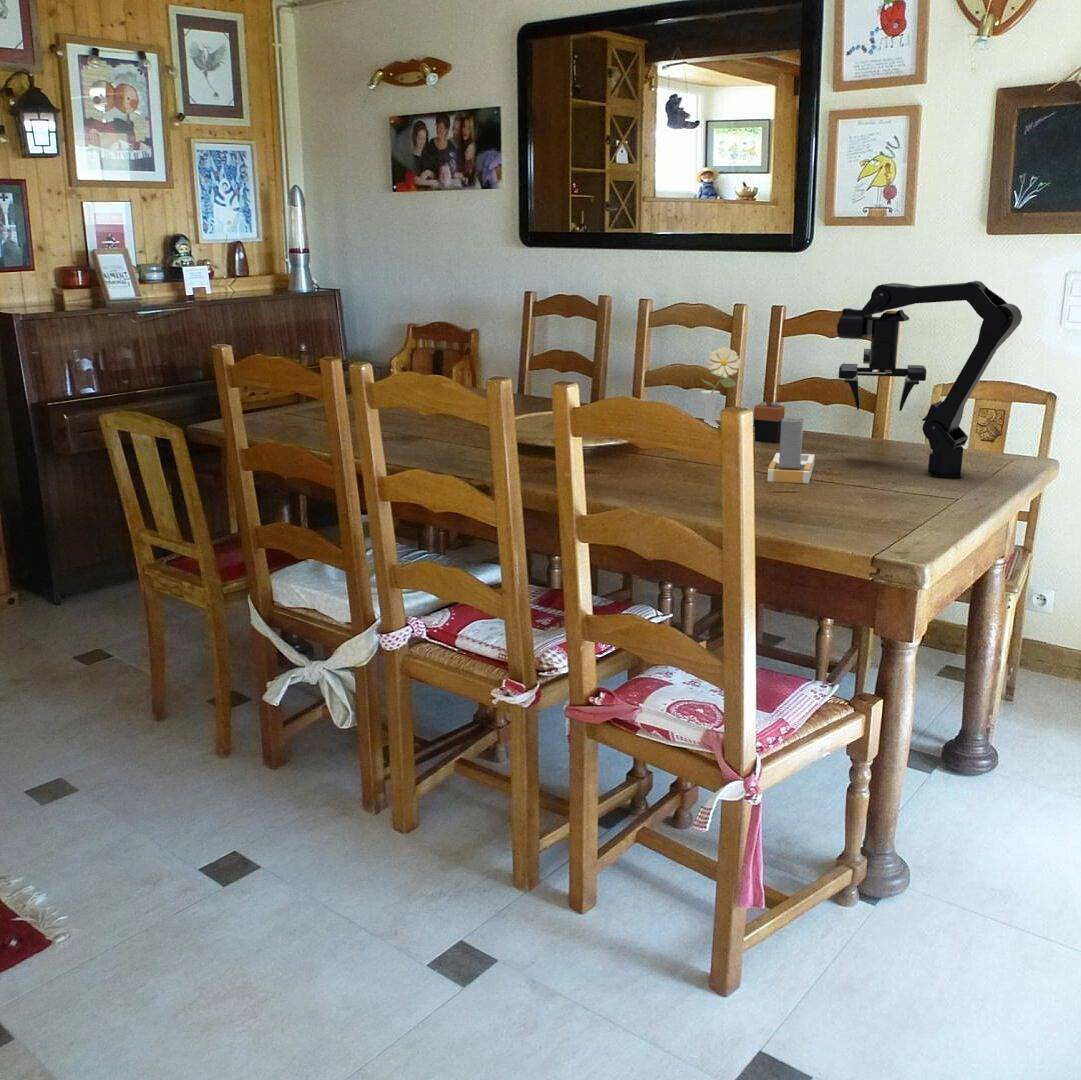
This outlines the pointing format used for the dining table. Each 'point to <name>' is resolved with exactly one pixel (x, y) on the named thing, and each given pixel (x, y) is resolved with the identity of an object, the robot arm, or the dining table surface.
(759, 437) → the battery
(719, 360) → the flower in vase
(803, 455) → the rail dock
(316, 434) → the dining table surface
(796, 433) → the metal peg
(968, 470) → the dining table surface
